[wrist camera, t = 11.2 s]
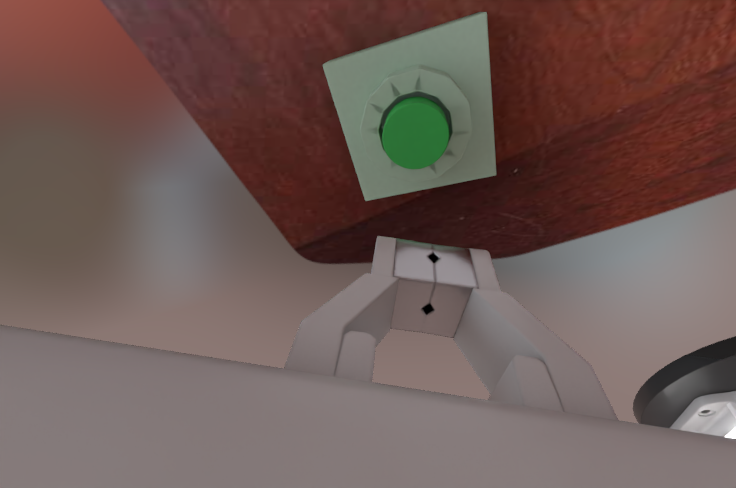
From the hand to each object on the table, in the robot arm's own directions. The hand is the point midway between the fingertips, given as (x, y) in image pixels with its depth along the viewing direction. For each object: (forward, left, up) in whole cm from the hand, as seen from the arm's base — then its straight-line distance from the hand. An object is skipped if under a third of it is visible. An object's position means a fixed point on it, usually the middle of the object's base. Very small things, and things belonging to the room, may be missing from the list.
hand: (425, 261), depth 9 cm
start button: (-1, 0, -14) cm, 14 cm away
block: (-1, 0, -18) cm, 18 cm away
